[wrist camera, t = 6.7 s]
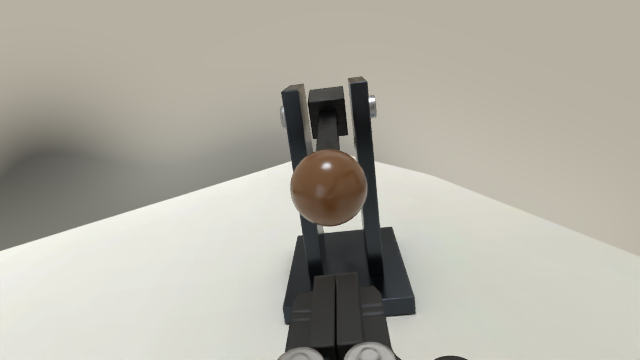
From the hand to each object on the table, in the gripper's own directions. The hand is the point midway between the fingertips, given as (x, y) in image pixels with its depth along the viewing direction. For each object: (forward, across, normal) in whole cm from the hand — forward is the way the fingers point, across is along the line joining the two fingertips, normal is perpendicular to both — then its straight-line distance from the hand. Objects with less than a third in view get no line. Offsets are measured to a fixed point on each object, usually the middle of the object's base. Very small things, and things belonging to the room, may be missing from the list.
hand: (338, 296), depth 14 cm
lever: (+9, 0, -2) cm, 9 cm away
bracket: (+13, 0, +8) cm, 15 cm away
